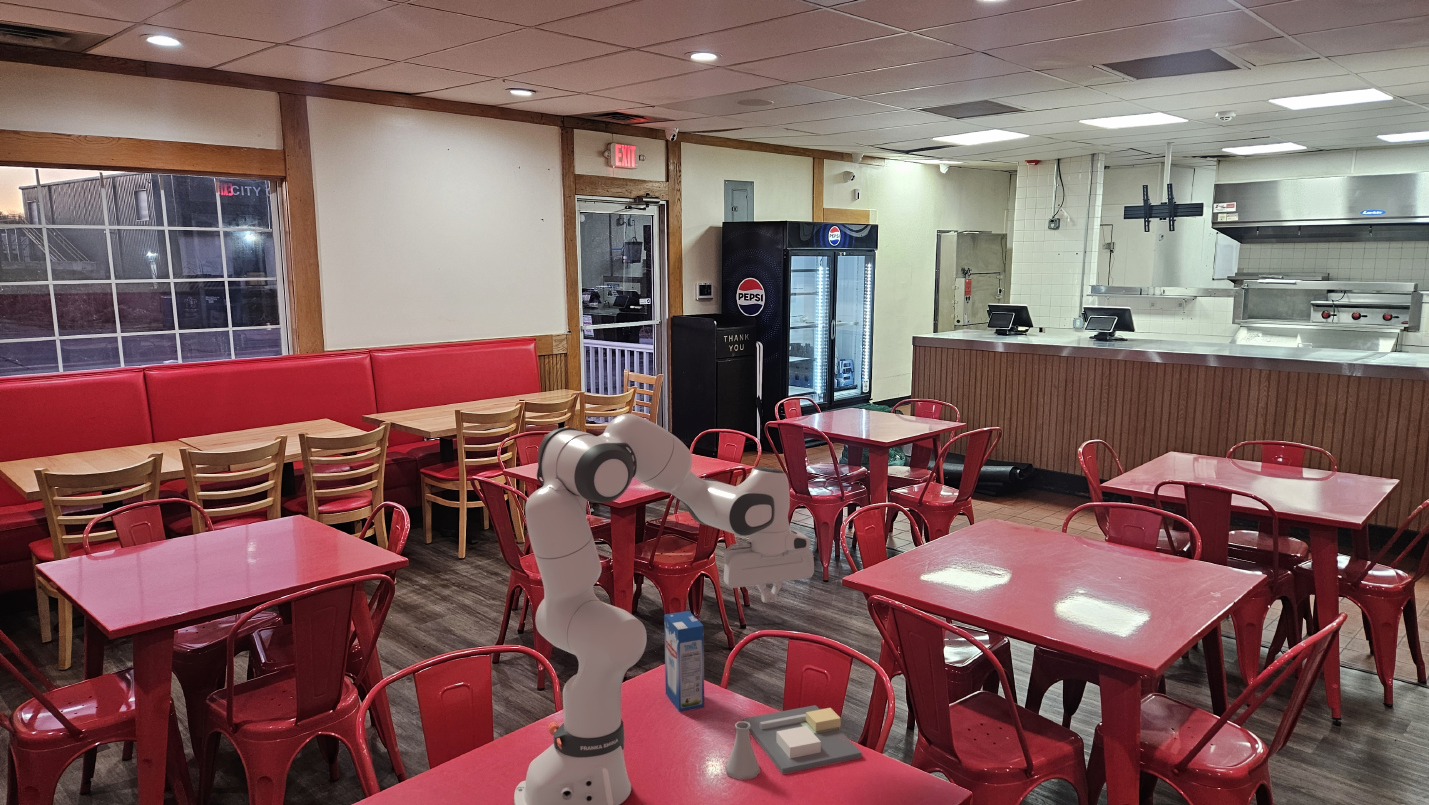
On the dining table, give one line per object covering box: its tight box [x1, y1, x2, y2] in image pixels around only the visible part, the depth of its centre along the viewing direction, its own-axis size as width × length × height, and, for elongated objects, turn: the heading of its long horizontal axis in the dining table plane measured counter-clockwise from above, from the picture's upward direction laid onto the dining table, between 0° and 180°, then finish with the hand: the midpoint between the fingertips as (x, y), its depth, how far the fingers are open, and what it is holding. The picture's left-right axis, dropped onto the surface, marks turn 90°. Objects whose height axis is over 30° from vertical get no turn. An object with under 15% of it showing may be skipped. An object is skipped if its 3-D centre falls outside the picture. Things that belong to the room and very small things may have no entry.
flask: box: [725, 720, 762, 780], centre depth 185 cm, size 7×7×10 cm
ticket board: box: [742, 704, 863, 775], centre depth 197 cm, size 18×22×4 cm
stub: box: [806, 707, 842, 731], centre depth 201 cm, size 6×5×2 cm
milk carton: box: [663, 610, 705, 713], centre depth 214 cm, size 10×6×20 cm, turn 22°
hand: (769, 601), depth 199 cm, fingers closed
